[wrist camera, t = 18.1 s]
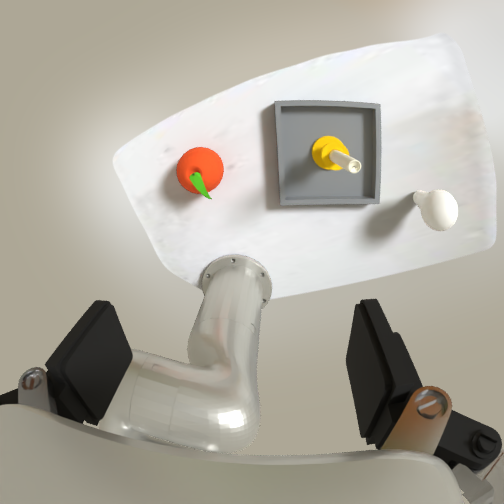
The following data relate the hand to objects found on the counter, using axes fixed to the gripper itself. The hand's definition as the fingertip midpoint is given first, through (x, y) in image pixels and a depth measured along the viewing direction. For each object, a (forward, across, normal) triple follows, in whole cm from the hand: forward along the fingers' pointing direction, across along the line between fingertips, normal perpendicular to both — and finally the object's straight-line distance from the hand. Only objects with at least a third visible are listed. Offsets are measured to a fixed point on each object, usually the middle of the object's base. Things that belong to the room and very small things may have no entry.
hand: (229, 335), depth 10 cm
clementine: (+36, +9, -1) cm, 38 cm away
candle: (+36, -10, -3) cm, 37 cm away
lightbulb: (+36, -26, +4) cm, 45 cm away
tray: (+36, -10, -3) cm, 38 cm away
